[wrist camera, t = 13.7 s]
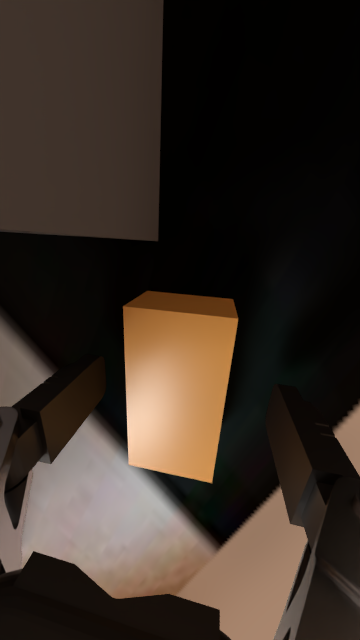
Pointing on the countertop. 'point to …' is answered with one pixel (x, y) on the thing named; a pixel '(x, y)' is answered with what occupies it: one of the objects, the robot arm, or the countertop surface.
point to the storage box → (80, 117)
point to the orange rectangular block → (177, 380)
